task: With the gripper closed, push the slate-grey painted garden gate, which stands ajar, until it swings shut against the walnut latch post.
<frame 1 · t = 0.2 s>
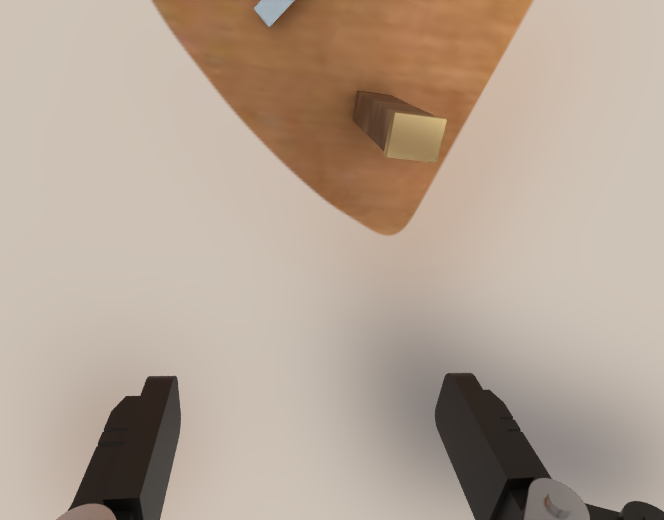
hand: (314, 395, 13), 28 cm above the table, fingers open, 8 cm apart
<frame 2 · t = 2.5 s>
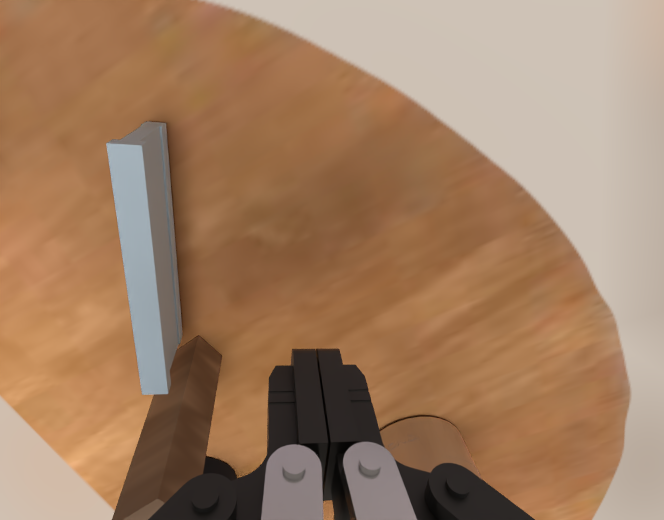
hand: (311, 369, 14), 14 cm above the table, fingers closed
black water bottle: (199, 479, 37), on the table
gate frame: (177, 342, 30), on the table
gate: (155, 262, 23), point 3 cm above the table, hinge at -40.0°
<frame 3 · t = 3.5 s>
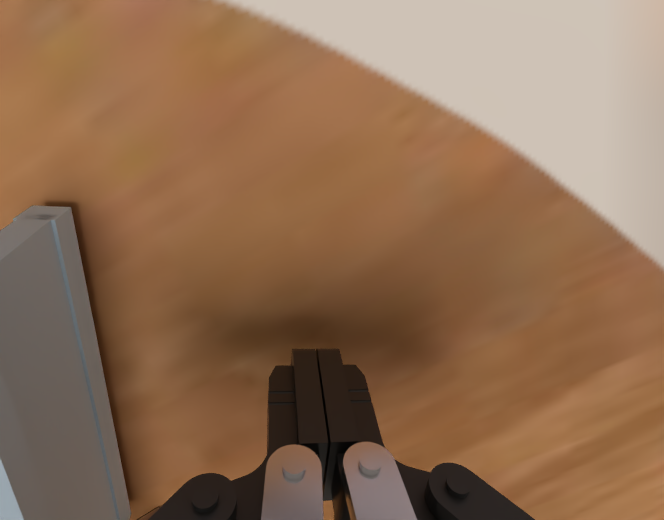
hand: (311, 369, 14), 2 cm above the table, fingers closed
gate: (57, 459, 13), point 3 cm above the table, hinge at -40.0°
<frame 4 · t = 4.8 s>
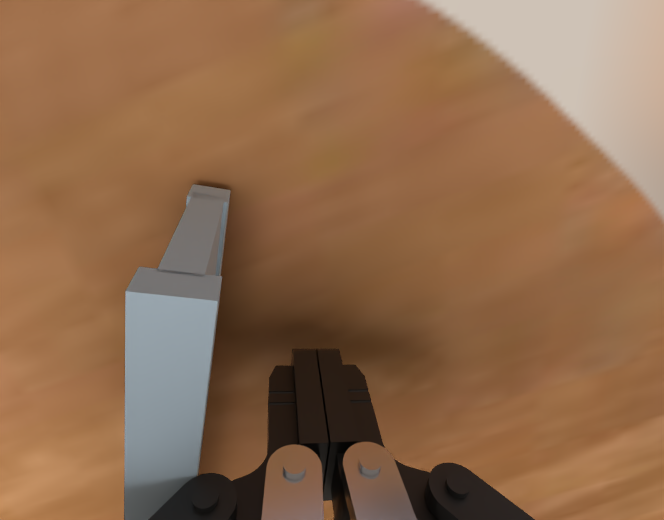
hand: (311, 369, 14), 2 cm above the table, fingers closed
gate: (178, 448, 12), point 3 cm above the table, hinge at -36.8°, touching gripper
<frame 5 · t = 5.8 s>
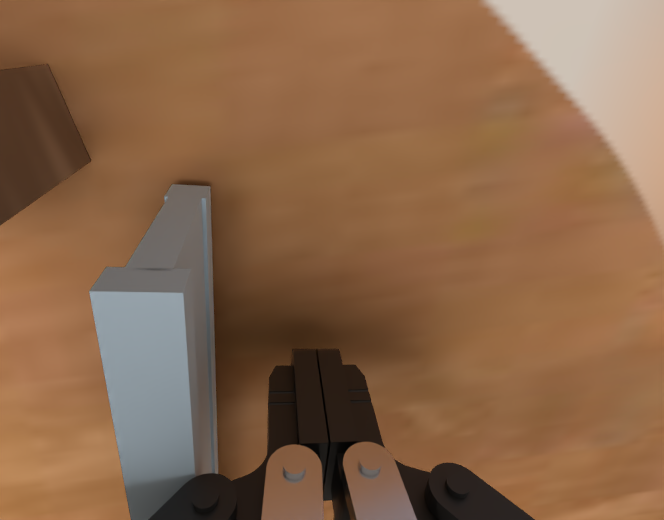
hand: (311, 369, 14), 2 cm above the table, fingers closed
gate frame: (209, 509, 19), on the table
gate: (187, 447, 12), point 3 cm above the table, hinge at -15.3°, touching gripper
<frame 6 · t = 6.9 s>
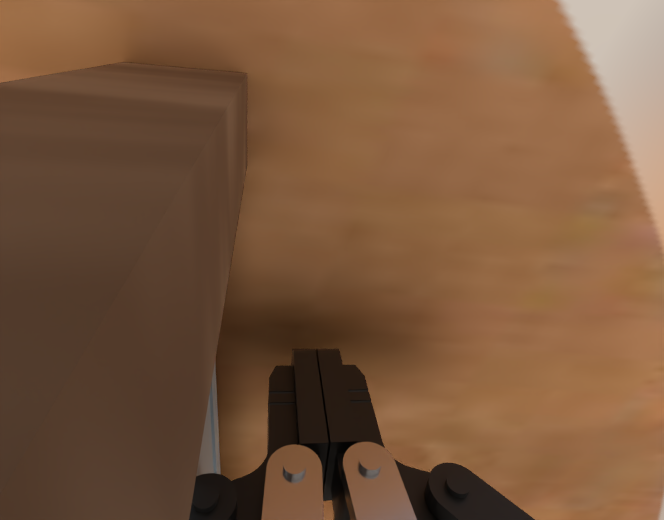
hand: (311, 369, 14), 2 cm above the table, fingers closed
gate frame: (212, 509, 19), on the table
gate: (188, 448, 12), point 3 cm above the table, hinge at 0.2°, touching gripper
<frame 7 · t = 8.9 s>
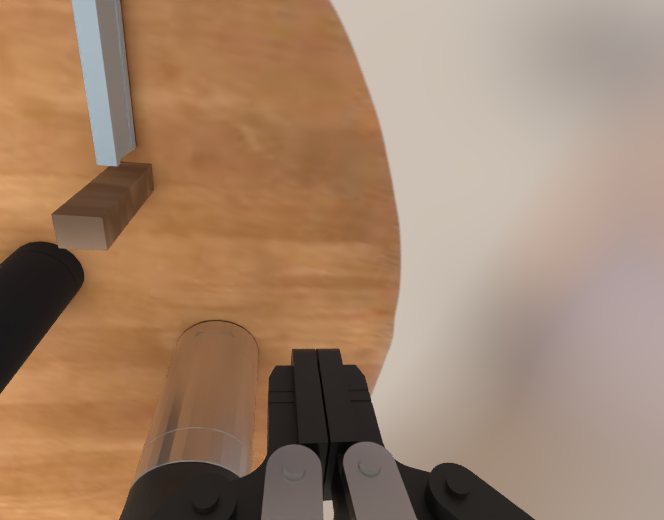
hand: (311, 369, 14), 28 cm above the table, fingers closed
black water bottle: (49, 269, 42), on the table
gate frame: (132, 157, 37), on the table
gate: (106, 59, 31), point 3 cm above the table, hinge at 0.2°
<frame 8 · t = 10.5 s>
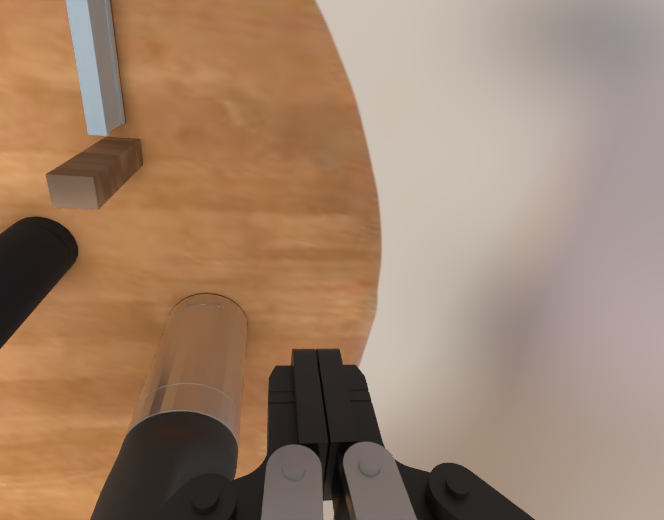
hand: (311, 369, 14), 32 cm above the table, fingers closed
black water bottle: (45, 244, 44), on the table
gate frame: (122, 132, 39), on the table
gate: (95, 35, 33), point 3 cm above the table, hinge at 0.2°
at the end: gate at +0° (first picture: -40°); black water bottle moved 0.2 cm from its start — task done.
